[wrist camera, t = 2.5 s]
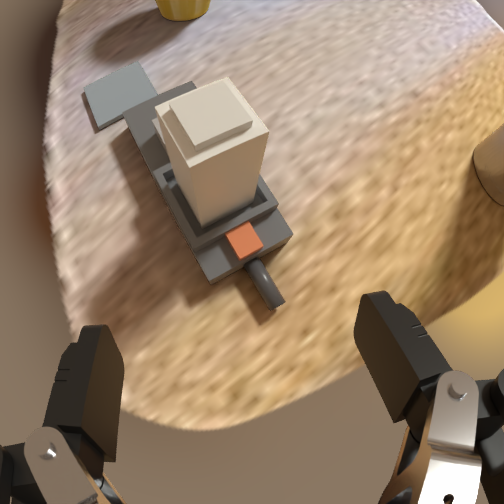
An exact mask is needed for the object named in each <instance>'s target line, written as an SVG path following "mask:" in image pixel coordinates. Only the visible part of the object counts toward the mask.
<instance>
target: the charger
mask: <svg viewBox="0 0 504 504" xmlns="http://www.w3.org/2000/svg"><path fill="white" fill-rule="evenodd" d="M155 110H156V114H157V117H158V121H159V124H160V128H161V131H162V135H163V138H164V142H165V145H166V149H167V152H168V155H169V159H170V162H171V166H172V169H173V172H174V175H175V179H176V182H177V184H178V186H179V188H180V190H181V192H182V193H183V195H184V197H185V199H186V201H187V203H188V204H189V206H190V208H191V210H192V212H193V213H194V215H195V217H196V219H197V221H198V222H199V224H200V226H201V228H202V229H204V228H206V227H207V226H209V225H211V224H213V223H215V222H217V221H219V220H221V219H223V218H224V217H226V216H228V215H230V214H232V213H234V212H236V211H238V210H240V209H242V208H244V207H246V206H247V205H249V204H251V203H253V200H254V196H255V191H256V187H257V183H258V178H259V174H260V170H261V165H262V161H263V156H264V152H265V148H266V143H267V139H268V135H269V130H268V129H267V127H266V126H265V125H264V123H263V122H262V121H261V119H260V118H259V117H258V115H257V114H256V113H255V111H254V110H253V109H252V107H251V106H250V105H249V103H248V102H247V101H246V100H245V98H244V97H243V96H242V94H241V93H240V92H239V91H238V89H237V88H236V87H235V85H234V84H233V83H232V82H231V80H230V79H229V78H228V77H226V78H223V79H220V80H218V81H215V82H212V83H210V84H207V85H204V86H202V87H199V88H197V89H194V90H192V91H190V92H187V93H185V94H182V95H180V96H178V97H175V98H173V99H171V100H168V101H166V102H164V103H162V104H160V105H157V106H155Z"/></svg>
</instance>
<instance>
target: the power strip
mask: <svg viewBox="0 0 504 504" xmlns="http://www.w3.org/2000/svg"><path fill="white" fill-rule="evenodd" d="M194 89H197V88H196V86H195V85H194V83H193V82H192V81H190V82H188V83H185V84H183V85H180V86H178V87H176V88H173V89H171V90H169V91H166V92H164V93H162V94H159V95H157V96H155V97H153V98H151V99H149V100H146V101H144V102H142V103H140V104H138V105H136V106H134V107H132V108H130V109H128V110H126V111H124V112H122V114H123V116H124V118H125V121H126V123H127V125H128V128H129V130H130V132H131V134H132V136H133V138H134V140H135V142H136V144H137V146H138V148H139V150H140V152H141V154H142V156H143V158H144V160H145V162H146V165H147V167H148V169H149V171H150V172H151V174H152V176H153V178H154V180H155V182H156V184H157V186H158V188H159V190H160V192H161V194H162V196H163V198H164V200H165V202H166V204H167V206H168V208H169V210H170V211H171V213H172V215H173V217H174V219H175V221H176V223H177V225H178V227H179V228H180V230H181V232H182V234H183V236H184V238H185V240H186V241H187V243H188V245H189V247H190V249H191V251H192V253H193V254H194V256H195V258H196V260H197V262H198V263H199V265H200V267H201V269H202V271H203V272H204V274H205V276H206V278H207V280H208V281H209V283H210V285H212V284H214V283H216V282H218V281H219V280H221V279H223V278H225V277H227V276H228V275H230V274H232V273H234V272H236V271H237V270H239V269H241V268H243V267H245V269H246V271H247V273H248V274H249V276H250V278H251V279H252V281H253V283H254V285H255V286H256V288H257V290H258V291H259V293H260V295H261V296H262V298H263V300H264V301H265V303H266V305H267V307H268V308H269V310H270V311H271V310H273V309H275V308H277V307H278V306H280V305H282V304H283V303H285V300H284V299H283V297H282V295H281V294H280V292H279V290H278V288H277V287H276V285H275V283H274V282H273V280H272V278H271V277H270V275H269V273H268V272H267V270H266V268H265V267H264V265H263V263H262V262H261V260H260V257H262V256H264V255H266V254H268V253H269V252H271V251H273V250H275V249H276V248H278V247H280V246H282V245H284V244H285V243H287V242H288V241H289V239H290V238H291V237H292V235H293V233H292V231H291V229H290V228H289V226H288V225H287V223H286V221H285V220H284V218H283V217H282V215H281V214H280V212H279V210H278V209H277V206H278V204H279V203H278V202H277V200H276V199H275V197H274V195H273V194H272V192H271V191H270V189H269V188H268V186H267V185H266V183H265V182H264V180H263V179H262V177H261V175H260V174H259V178H258V183H257V187H256V191H255V196H254V200H253V203H251V204H249V205H247V206H246V207H244V208H242V209H240V210H238V211H236V212H234V213H232V214H230V215H228V216H226V217H224V218H223V219H221V220H219V221H217V222H215V223H213V224H211V225H209V226H207V227H206V228H204V229H202V228H201V226H200V224H199V222H198V221H197V219H196V217H195V215H194V213H193V212H192V210H191V208H190V206H189V204H188V203H187V201H186V199H185V197H184V195H183V193H182V192H181V190H180V188H179V186H178V184H177V182H176V179H175V175H174V172H173V169H172V166H171V162H170V159H169V155H168V152H167V149H166V145H165V142H164V138H163V135H162V131H161V128H160V124H159V121H158V117H157V114H156V110H155V106H157V105H160V104H162V103H164V102H166V101H168V100H171V99H173V98H175V97H178V96H180V95H182V94H185V93H187V92H190V91H192V90H194Z"/></svg>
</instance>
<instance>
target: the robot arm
mask: <svg viewBox="0 0 504 504" xmlns="http://www.w3.org/2000/svg"><path fill="white" fill-rule="evenodd" d="M474 165H475V169H476V172H477V175H478V177H479V179H480V181H481V183H482V185H483V187H484V188H485V190H486V191H487V193H488V194H489V195H490V196H491V197H492V198H493V199H494V200H495V201H496V202H497V203H499V204H500V205H502V206H504V124H503V125H501V126H500V127H499V128H498V129H497V130H495V131H494V132H493V133H492V134H491V135H489V136H488V137H487V138H486V139H485V140H483V141H482V142H481V143H480V144H478V145H477V147H476V148H475V151H474ZM354 339H355V343H356V345H357V348H358V350H359V352H360V354H361V356H362V358H363V360H364V362H365V364H366V366H367V368H368V370H369V372H370V374H371V376H372V378H373V380H374V382H375V384H376V386H377V388H378V390H379V393H380V395H381V397H382V399H383V401H384V403H385V405H386V407H387V409H388V412H389V414H390V416H391V418H392V420H393V423H396V422H399V421H402V420H404V419H406V421H407V424H408V426H407V428H406V431H405V435H404V438H403V442H402V445H401V449H400V452H399V456H398V459H397V462H396V466H395V468H394V471H393V474H392V477H391V479H390V481H389V483H388V485H387V486H386V488H385V490H384V491H383V493H382V496H381V497H380V500H379V502H378V504H475V499H476V495H477V489H478V484H479V479H480V481H481V483H482V486H483V488H484V491H485V494H486V497H487V499H488V502H489V504H504V432H503V430H502V428H501V427H502V426H503V425H504V369H503V370H502V371H501V372H500V374H499V375H498V376H497V378H496V379H490V380H478V381H474V380H473V378H472V377H470V376H469V375H468V374H466V373H464V372H461V371H453V370H452V368H451V367H450V366H449V364H448V363H447V361H446V359H445V358H444V356H443V355H442V353H441V352H440V351H439V349H438V348H437V346H436V345H435V343H434V342H433V340H432V339H431V337H430V336H429V335H427V331H426V330H425V329H424V327H423V326H421V323H420V321H419V320H418V319H417V317H416V316H415V314H414V313H413V312H412V311H411V310H409V309H408V308H406V307H405V306H404V305H402V304H401V303H399V304H396V303H395V302H394V301H393V299H392V298H391V296H390V295H389V294H388V292H386V291H379V292H373V293H368V294H363V295H362V297H361V300H360V304H359V309H358V313H357V317H356V322H355V326H354ZM123 380H124V363H123V358H122V356H121V353H120V351H119V349H118V347H117V345H116V343H115V340H114V338H113V336H112V334H111V331H110V329H109V327H108V326H107V325H89V326H83V328H82V329H81V332H80V336H79V339H78V342H77V343H71V344H70V345H69V346H68V348H67V349H66V350H65V352H64V353H63V354H62V356H61V360H60V363H59V366H58V372H57V373H56V376H55V383H54V384H53V387H52V391H51V395H50V398H49V402H48V406H47V410H46V415H45V419H44V423H43V426H42V427H41V428H38V429H36V430H34V431H33V432H32V433H31V434H30V435H29V436H28V438H27V440H26V442H24V443H20V444H15V445H10V446H5V447H2V446H1V445H0V504H10V496H11V497H12V502H11V504H127V503H126V502H125V501H124V499H123V498H122V497H121V496H120V495H119V493H118V492H117V490H116V489H115V488H114V486H113V485H112V483H111V482H110V481H109V479H108V478H107V476H106V475H105V474H104V472H103V465H104V462H115V461H116V448H117V435H118V424H119V414H120V405H121V396H122V388H123Z"/></svg>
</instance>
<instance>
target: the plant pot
mask: <svg viewBox="0 0 504 504" xmlns="http://www.w3.org/2000/svg"><path fill="white" fill-rule="evenodd" d="M155 1H156V3H157V6H158V8H159V10H160V12H161V15H162V16H163V17H165V18H166V19H169V20H173V21H186V20H191V19H195V18H198V17H200V16H202V15H203V14H205V13H206V12H207V10H208V8H209V4H210V0H155Z"/></svg>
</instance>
